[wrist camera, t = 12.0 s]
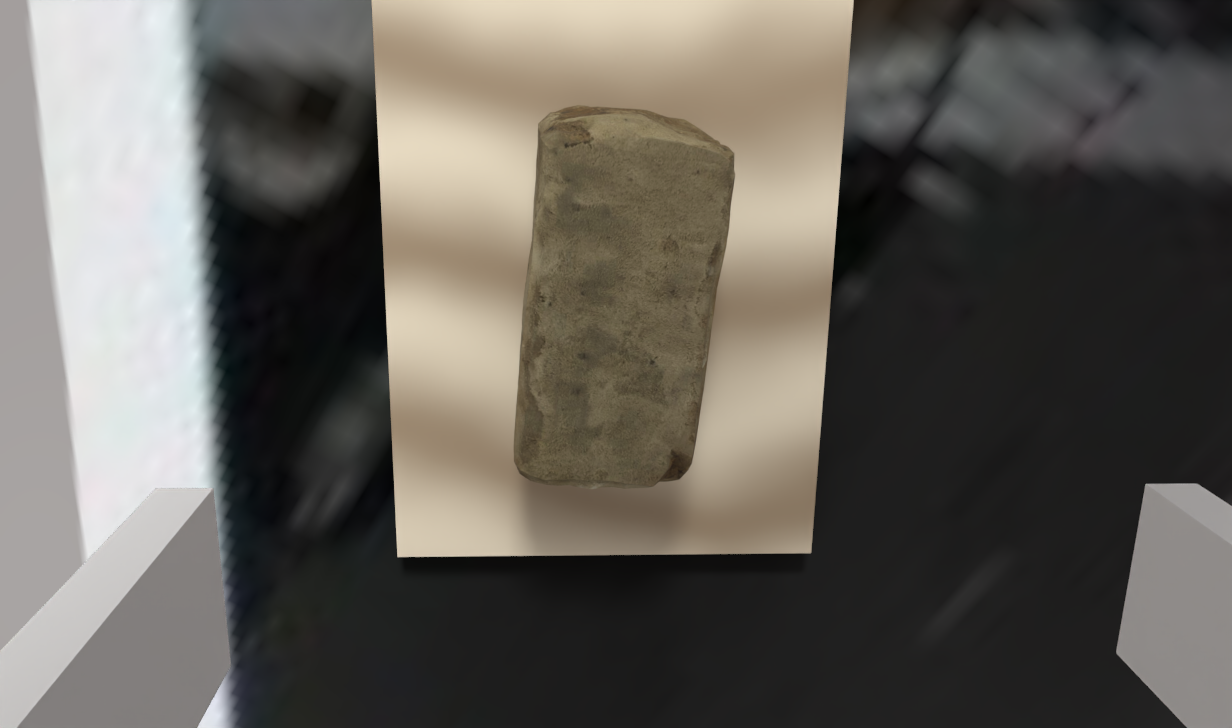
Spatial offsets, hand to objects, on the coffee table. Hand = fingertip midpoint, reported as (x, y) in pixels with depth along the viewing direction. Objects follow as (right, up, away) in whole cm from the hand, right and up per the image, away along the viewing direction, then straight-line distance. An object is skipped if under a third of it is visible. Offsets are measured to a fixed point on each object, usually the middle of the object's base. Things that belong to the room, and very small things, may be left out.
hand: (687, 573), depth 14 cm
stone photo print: (-1, +6, +21) cm, 22 cm away
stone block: (-1, +6, +20) cm, 21 cm away
